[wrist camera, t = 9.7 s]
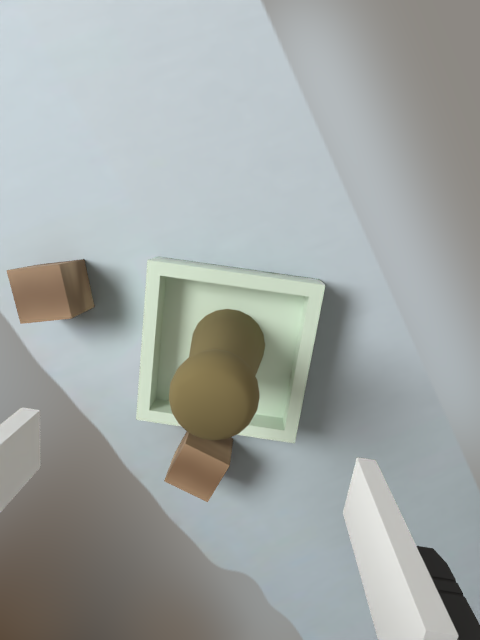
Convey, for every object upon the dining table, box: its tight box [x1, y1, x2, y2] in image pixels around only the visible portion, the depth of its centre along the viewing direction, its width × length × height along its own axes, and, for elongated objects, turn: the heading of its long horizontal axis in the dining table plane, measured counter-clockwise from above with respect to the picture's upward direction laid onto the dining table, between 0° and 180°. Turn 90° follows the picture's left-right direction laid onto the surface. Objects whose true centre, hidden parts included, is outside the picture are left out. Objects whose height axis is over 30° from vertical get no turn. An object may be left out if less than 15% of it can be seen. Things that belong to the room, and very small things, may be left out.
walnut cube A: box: [7, 259, 94, 324], centre depth 29 cm, size 4×4×4 cm
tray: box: [136, 257, 325, 443], centre depth 30 cm, size 13×13×3 cm
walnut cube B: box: [164, 432, 233, 502], centre depth 32 cm, size 4×4×4 cm
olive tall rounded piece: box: [169, 309, 265, 440], centre depth 25 cm, size 6×6×11 cm
